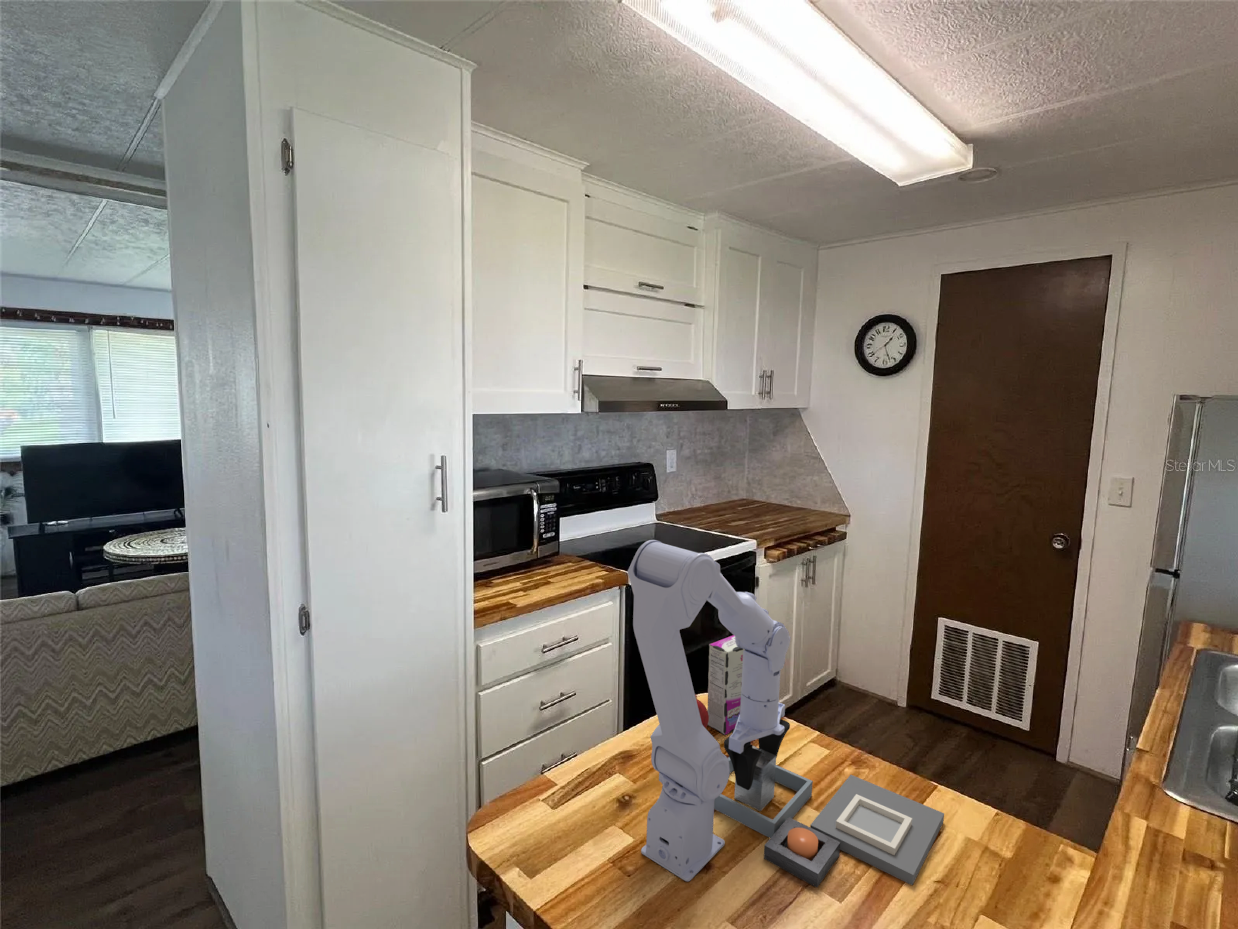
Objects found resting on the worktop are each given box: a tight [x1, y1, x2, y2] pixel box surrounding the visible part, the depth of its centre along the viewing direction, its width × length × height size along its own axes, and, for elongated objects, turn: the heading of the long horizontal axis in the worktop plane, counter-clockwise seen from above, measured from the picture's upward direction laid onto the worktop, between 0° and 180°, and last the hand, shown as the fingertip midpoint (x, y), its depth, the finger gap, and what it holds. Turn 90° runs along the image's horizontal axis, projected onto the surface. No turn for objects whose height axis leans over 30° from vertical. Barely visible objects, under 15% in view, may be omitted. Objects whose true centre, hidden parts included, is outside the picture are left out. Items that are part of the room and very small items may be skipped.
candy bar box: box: [706, 634, 744, 736], centre depth 120 cm, size 11×5×16 cm, turn 129°
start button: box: [787, 828, 818, 861], centre depth 86 cm, size 4×4×2 cm
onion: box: [695, 694, 709, 729], centre depth 115 cm, size 6×6×8 cm
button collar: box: [763, 817, 841, 888], centre depth 86 cm, size 8×8×2 cm
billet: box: [733, 745, 777, 812], centre depth 98 cm, size 4×4×7 cm
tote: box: [714, 756, 813, 839], centre depth 98 cm, size 13×13×2 cm
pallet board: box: [809, 774, 945, 886], centre depth 92 cm, size 16×14×2 cm
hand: (755, 775), depth 98 cm, fingers open, 7 cm apart
